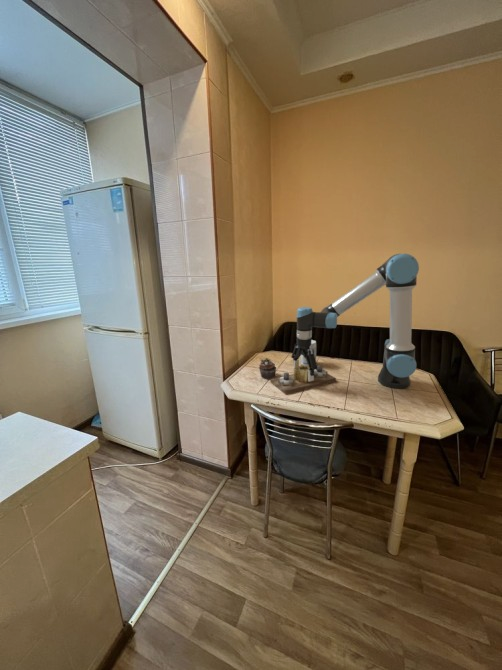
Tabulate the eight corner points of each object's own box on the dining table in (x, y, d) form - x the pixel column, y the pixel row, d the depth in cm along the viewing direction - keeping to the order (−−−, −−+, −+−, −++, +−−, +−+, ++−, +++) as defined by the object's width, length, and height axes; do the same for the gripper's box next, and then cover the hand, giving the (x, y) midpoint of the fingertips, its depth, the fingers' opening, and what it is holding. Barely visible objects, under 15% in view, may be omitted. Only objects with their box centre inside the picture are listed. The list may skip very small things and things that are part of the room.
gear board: (335, 381, 149) (336, 369, 147) (285, 394, 137) (285, 381, 135) (318, 371, 162) (318, 360, 160) (271, 382, 150) (270, 370, 148)
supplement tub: (319, 364, 172) (320, 341, 168) (308, 368, 167) (308, 345, 163) (307, 360, 180) (308, 338, 176) (296, 363, 175) (297, 341, 171)
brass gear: (316, 380, 147) (317, 369, 145) (300, 384, 143) (301, 373, 141) (305, 373, 155) (306, 363, 154) (290, 376, 152) (290, 366, 150)
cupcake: (270, 381, 152) (270, 363, 150) (256, 377, 158) (255, 360, 155) (279, 374, 160) (279, 358, 157) (265, 371, 165) (265, 355, 163)
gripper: (285, 333, 153) (285, 369, 158) (312, 345, 130) (311, 386, 136) (296, 331, 155) (296, 366, 161) (325, 342, 133) (323, 383, 139)
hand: (303, 376), depth 149 cm, fingers open, 13 cm apart
